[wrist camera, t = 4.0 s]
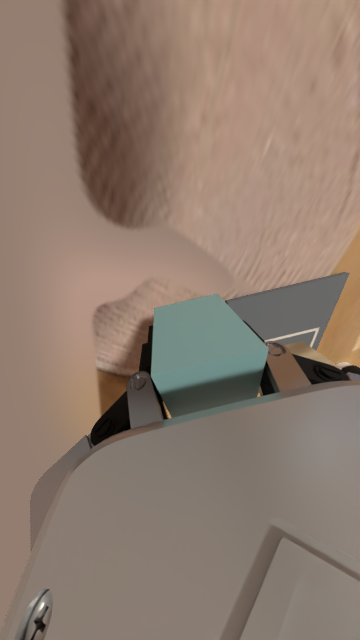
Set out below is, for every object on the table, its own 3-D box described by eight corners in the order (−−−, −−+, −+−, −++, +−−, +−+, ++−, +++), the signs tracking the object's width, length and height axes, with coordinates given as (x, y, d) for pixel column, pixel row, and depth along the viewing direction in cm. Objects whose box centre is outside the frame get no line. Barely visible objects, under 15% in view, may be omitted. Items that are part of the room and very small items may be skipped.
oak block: (262, 350, 20) (291, 381, 15) (302, 341, 20) (341, 368, 16) (258, 376, 23) (281, 408, 19) (292, 368, 23) (323, 397, 19)
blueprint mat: (225, 300, 16) (227, 302, 15) (344, 272, 16) (350, 273, 15) (228, 397, 26) (229, 400, 25) (300, 380, 26) (302, 382, 25)
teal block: (154, 308, 11) (150, 376, 6) (217, 293, 11) (269, 348, 6) (169, 352, 13) (175, 424, 8) (218, 340, 13) (254, 405, 8)
